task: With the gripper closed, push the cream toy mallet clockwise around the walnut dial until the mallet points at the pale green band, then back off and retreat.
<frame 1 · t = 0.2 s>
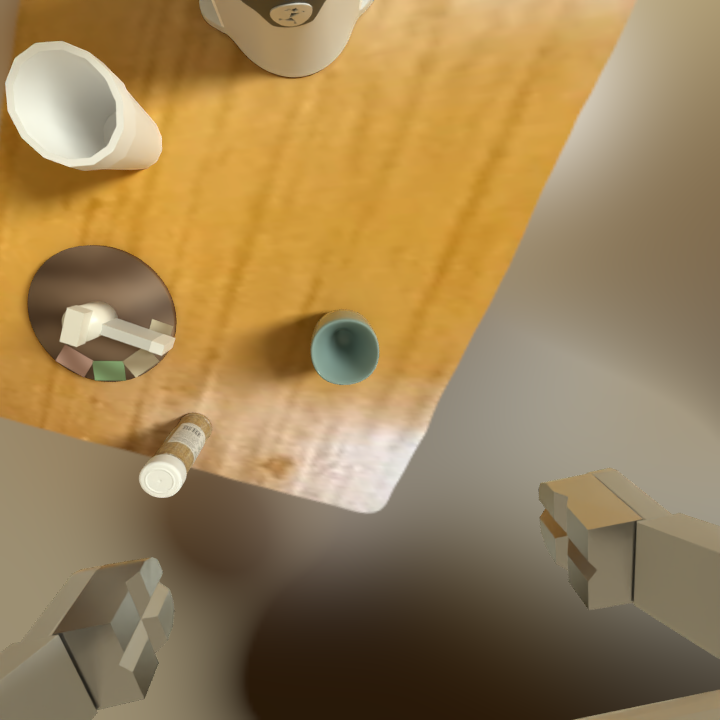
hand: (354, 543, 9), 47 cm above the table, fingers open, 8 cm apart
dial: (106, 315, 53), on the table
foam cup: (134, 140, 48), on the table
sprinkles bottle: (196, 426, 58), on the table
cup: (342, 332, 56), on the table
cream toy mallet: (118, 332, 49), point 5 cm above the table, hinge at 60.0°
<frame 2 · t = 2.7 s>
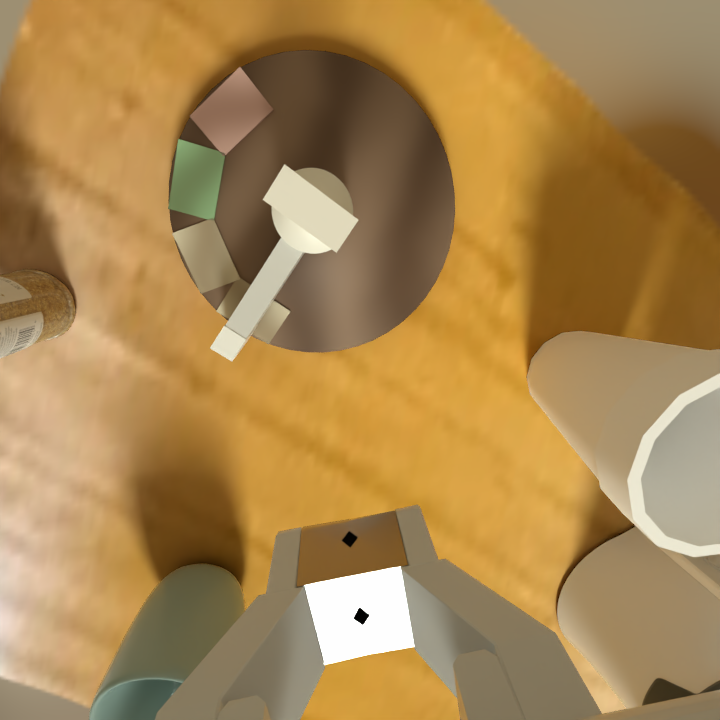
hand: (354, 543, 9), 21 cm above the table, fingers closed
dial: (316, 216, 26), on the table
foam cup: (567, 372, 31), on the table
sprinkles bottle: (42, 304, 27), on the table
cup: (206, 584, 34), on the table
cream toy mallet: (277, 269, 23), point 5 cm above the table, hinge at 60.0°
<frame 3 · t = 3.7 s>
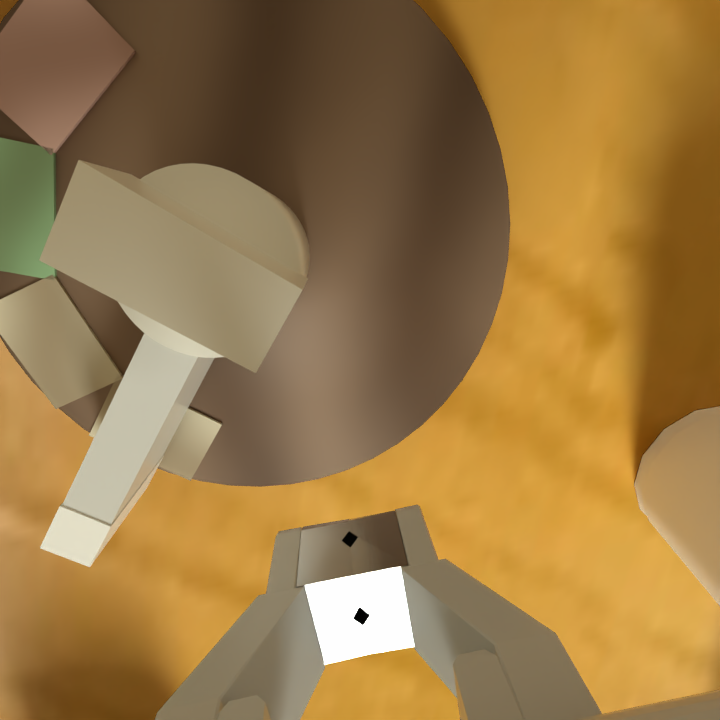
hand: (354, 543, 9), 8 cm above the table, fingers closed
dial: (253, 252, 14), on the table
foam cup: (701, 469, 19), on the table
cream toy mallet: (160, 381, 11), point 5 cm above the table, hinge at 60.0°
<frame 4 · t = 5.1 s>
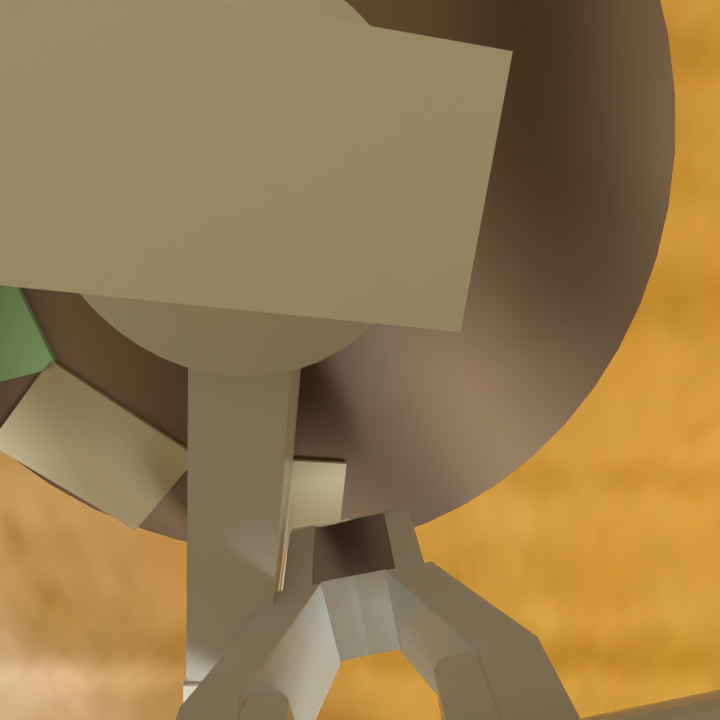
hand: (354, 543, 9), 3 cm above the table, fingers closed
dial: (287, 216, 10), on the table
cream toy mallet: (246, 441, 7), point 5 cm above the table, hinge at 59.4°, touching gripper
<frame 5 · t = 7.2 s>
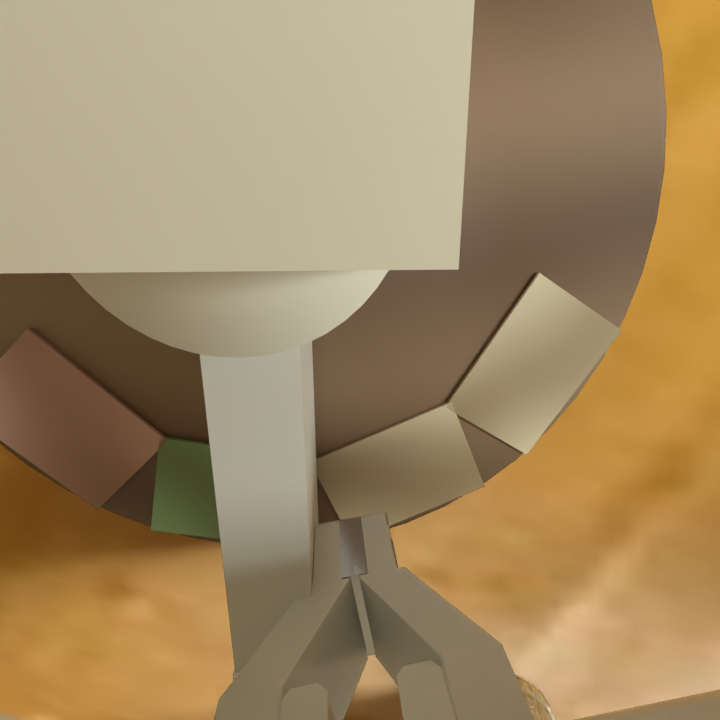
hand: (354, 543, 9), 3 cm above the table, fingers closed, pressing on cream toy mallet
dial: (283, 210, 10), on the table
sprinkles bottle: (485, 709, 15), on the table
cream toy mallet: (265, 428, 7), point 5 cm above the table, hinge at 1.9°, touching gripper
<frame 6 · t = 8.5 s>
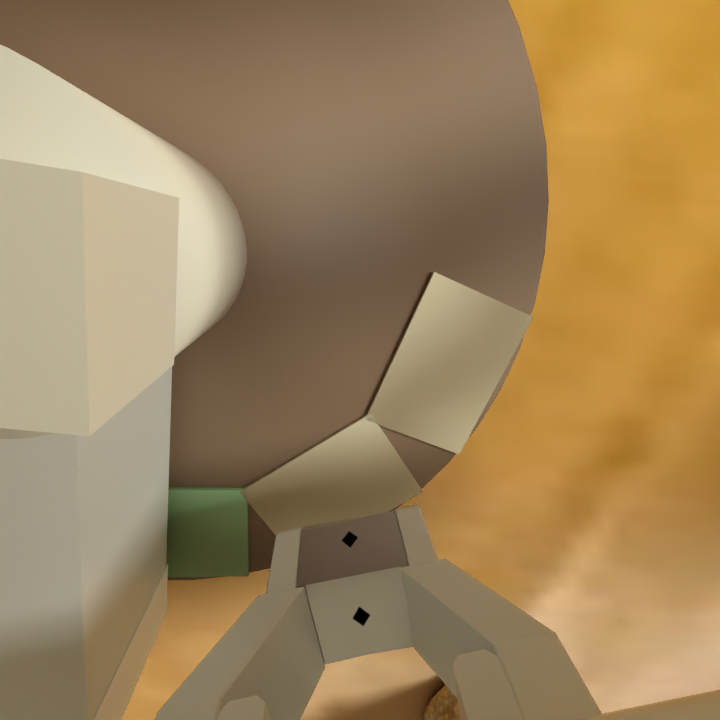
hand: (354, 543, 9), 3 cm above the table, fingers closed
dial: (171, 245, 10), on the table
sprinkles bottle: (480, 703, 15), on the table
cream toy mallet: (61, 487, 6), point 5 cm above the table, hinge at -15.0°
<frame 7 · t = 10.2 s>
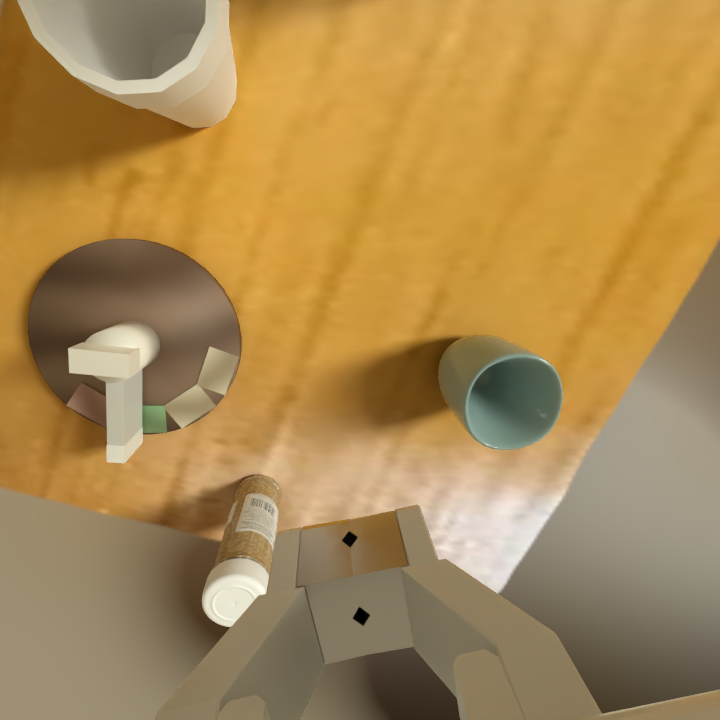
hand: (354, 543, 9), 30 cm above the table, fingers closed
dial: (142, 339, 37), on the table
foam cup: (195, 83, 32), on the table
sprinkles bottle: (259, 492, 42), on the table
cup: (467, 365, 41), on the table
cream toy mallet: (119, 395, 33), point 5 cm above the table, hinge at -15.1°
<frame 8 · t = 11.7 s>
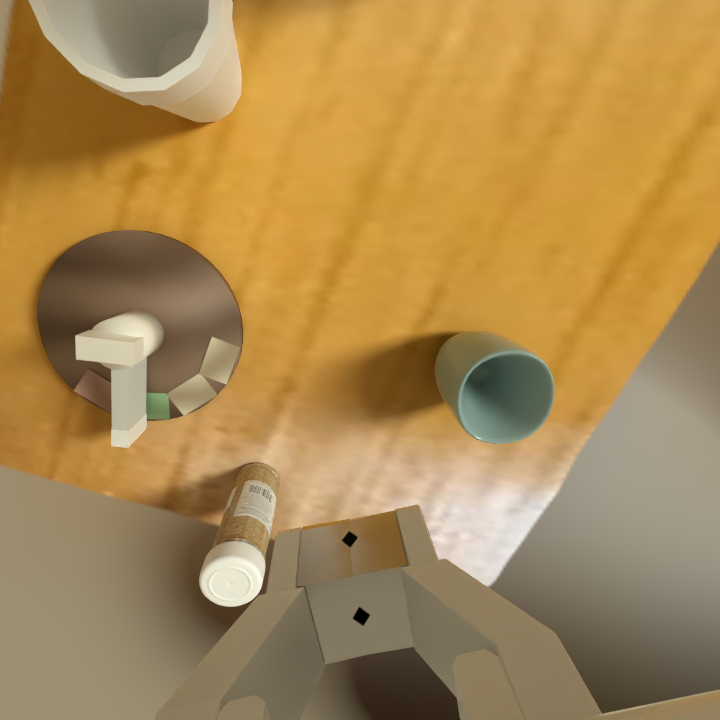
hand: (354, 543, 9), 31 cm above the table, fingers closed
dial: (147, 328, 38), on the table
foam cup: (201, 78, 33), on the table
sprinkles bottle: (259, 479, 43), on the table
cup: (464, 360, 41), on the table
cream toy mallet: (124, 382, 35), point 5 cm above the table, hinge at -15.1°
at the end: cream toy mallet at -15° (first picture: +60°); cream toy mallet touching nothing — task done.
